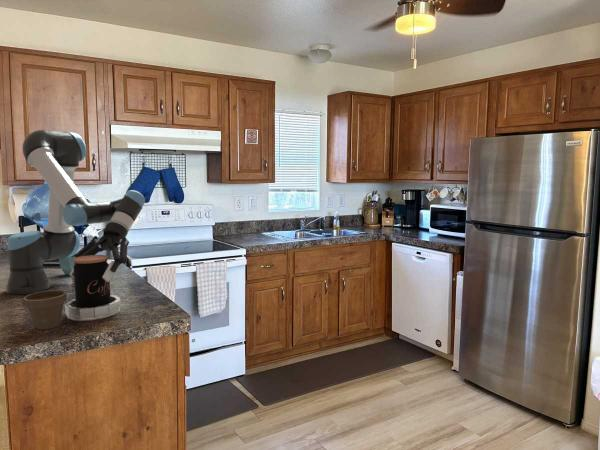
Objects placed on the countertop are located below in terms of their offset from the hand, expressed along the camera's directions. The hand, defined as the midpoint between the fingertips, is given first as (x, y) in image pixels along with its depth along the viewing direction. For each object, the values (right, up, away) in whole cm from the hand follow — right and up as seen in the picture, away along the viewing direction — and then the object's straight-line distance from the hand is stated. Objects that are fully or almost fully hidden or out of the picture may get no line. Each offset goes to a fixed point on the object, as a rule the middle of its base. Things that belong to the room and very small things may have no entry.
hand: (88, 278), depth 152 cm
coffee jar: (+1, -11, +3) cm, 12 cm away
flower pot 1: (-8, -14, -10) cm, 19 cm away
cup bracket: (+1, -12, +3) cm, 12 cm away
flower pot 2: (-37, -6, +65) cm, 75 cm away
